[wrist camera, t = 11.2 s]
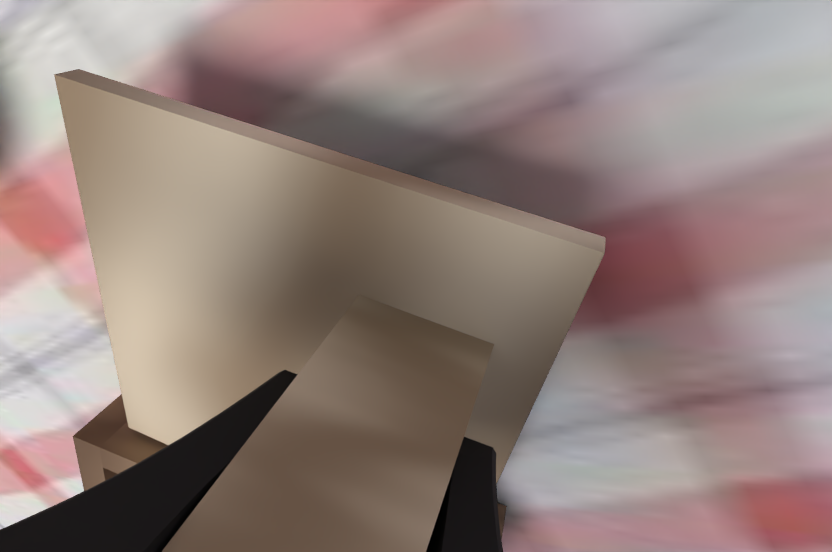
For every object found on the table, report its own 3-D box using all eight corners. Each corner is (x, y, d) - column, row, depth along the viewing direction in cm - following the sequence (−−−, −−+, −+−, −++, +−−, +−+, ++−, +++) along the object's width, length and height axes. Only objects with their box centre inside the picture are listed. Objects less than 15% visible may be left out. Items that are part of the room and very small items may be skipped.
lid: (605, 237, 9) (581, 616, 4) (459, 554, 16) (376, 859, 11) (78, 69, 11) (-411, 176, 6) (142, 414, 18) (-64, 613, 12)
